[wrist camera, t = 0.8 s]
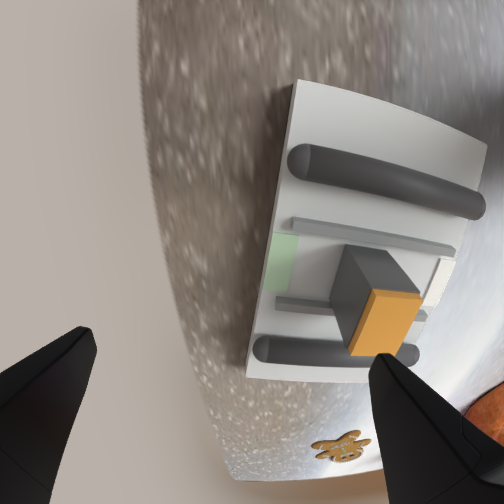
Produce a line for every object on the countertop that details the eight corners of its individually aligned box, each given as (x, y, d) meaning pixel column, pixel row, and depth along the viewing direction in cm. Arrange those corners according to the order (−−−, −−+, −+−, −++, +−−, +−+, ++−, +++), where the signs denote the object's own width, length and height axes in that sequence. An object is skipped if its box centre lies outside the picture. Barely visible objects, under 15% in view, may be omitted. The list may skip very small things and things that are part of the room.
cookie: (365, 429, 30) (376, 453, 34) (363, 424, 31) (375, 448, 35) (304, 449, 32) (326, 469, 35) (304, 443, 33) (325, 464, 36)
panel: (471, 141, 16) (505, 149, 13) (386, 367, 26) (398, 397, 22) (293, 83, 16) (303, 73, 12) (246, 360, 25) (244, 395, 21)
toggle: (386, 250, 18) (425, 298, 13) (368, 301, 19) (395, 357, 14) (344, 243, 18) (375, 293, 12) (328, 298, 19) (348, 356, 14)
